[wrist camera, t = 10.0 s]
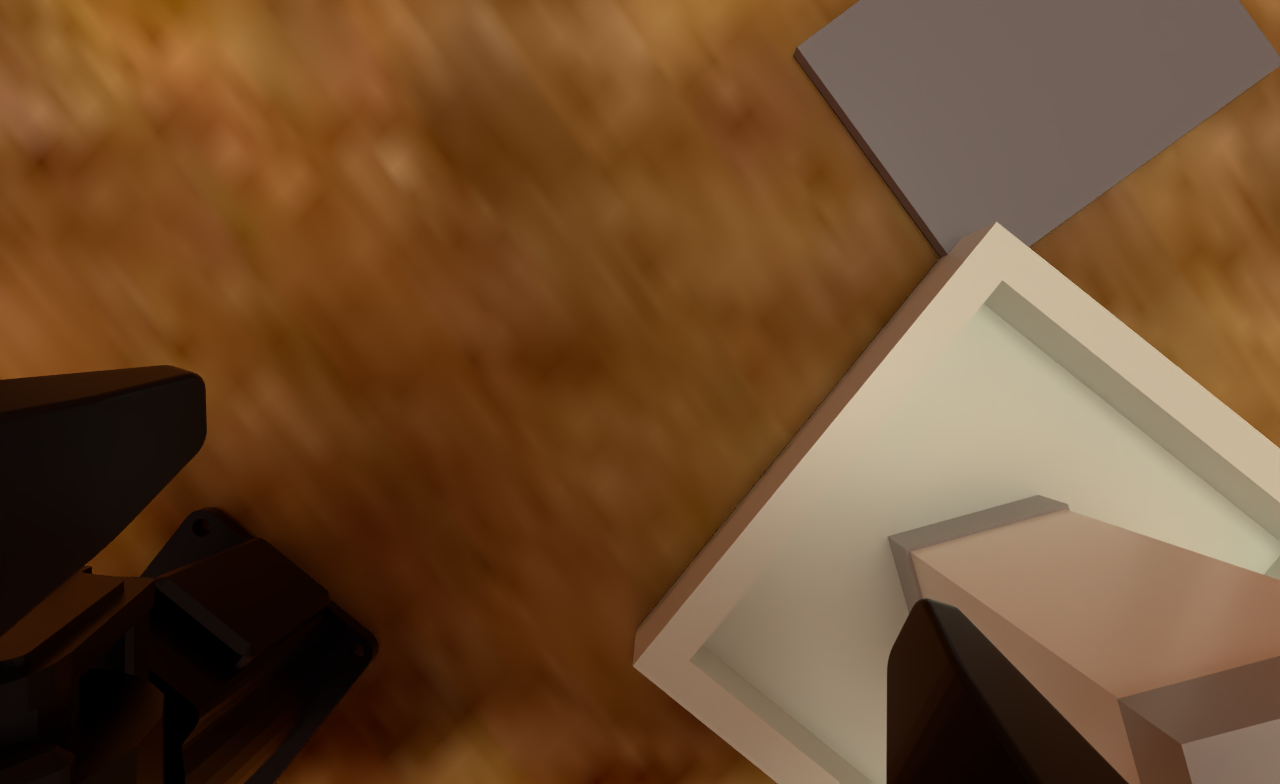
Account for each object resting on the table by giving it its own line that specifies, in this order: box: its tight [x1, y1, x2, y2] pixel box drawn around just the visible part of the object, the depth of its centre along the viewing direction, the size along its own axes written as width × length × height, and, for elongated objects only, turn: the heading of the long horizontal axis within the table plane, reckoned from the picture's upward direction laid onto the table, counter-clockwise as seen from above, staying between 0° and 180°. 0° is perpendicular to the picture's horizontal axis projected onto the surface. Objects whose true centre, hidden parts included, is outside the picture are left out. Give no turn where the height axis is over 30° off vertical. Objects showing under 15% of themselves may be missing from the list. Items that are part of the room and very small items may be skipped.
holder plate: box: [794, 0, 1280, 257], centre depth 19 cm, size 10×8×1 cm
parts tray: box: [633, 222, 1280, 784], centre depth 19 cm, size 14×13×2 cm
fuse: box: [887, 495, 1280, 784], centre depth 14 cm, size 4×4×11 cm
